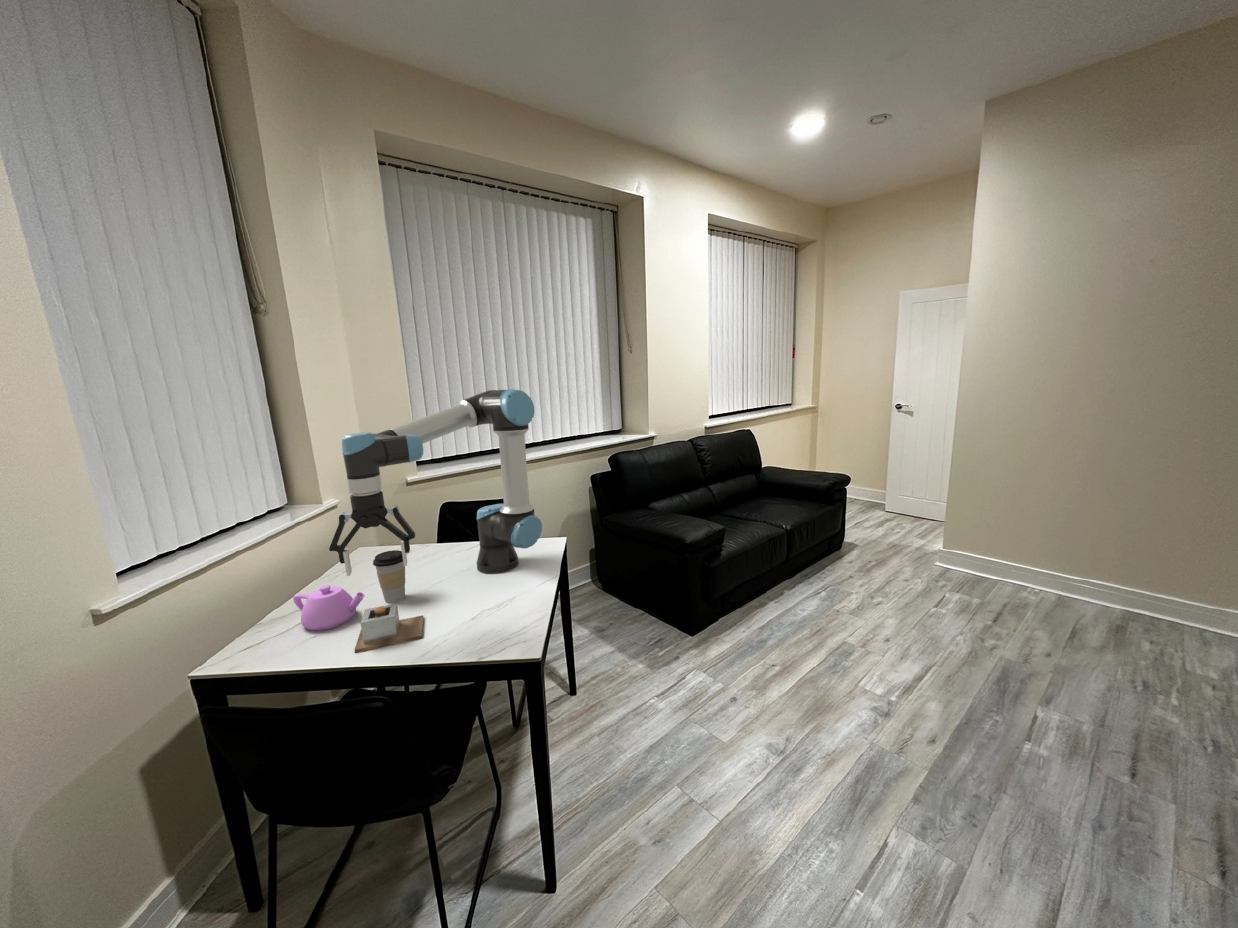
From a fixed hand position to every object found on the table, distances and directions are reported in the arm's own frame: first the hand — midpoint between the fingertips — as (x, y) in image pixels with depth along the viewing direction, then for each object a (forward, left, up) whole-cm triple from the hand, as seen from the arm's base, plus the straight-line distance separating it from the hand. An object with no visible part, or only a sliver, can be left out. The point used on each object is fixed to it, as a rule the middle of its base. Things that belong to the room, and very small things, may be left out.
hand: (378, 569), depth 123 cm
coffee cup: (0, -22, -19) cm, 29 cm away
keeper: (-1, +1, -19) cm, 19 cm away
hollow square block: (+1, +1, -18) cm, 18 cm away
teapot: (+16, -15, -19) cm, 29 cm away
